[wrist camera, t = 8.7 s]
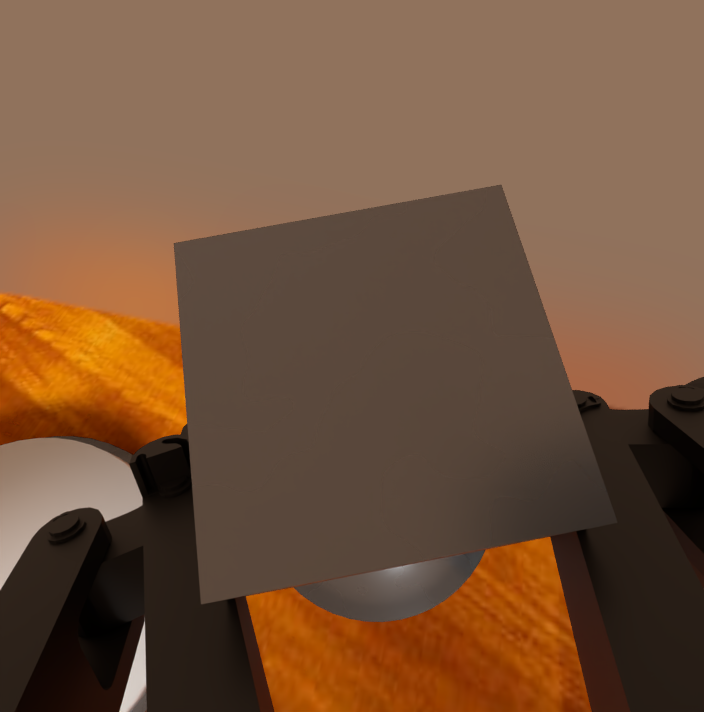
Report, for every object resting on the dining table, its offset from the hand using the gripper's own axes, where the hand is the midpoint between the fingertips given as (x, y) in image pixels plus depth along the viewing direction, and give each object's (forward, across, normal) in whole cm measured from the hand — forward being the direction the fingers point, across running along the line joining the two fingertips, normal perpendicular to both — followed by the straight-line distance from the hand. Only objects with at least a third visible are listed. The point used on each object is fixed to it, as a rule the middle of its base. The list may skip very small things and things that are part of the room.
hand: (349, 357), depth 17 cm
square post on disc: (+1, 0, -6) cm, 6 cm away
